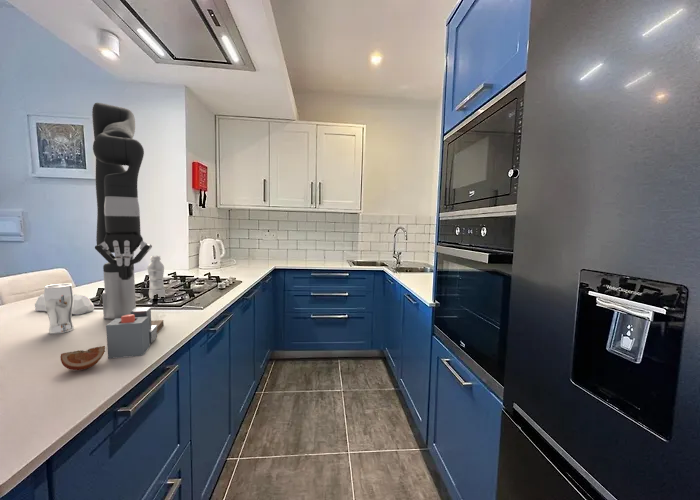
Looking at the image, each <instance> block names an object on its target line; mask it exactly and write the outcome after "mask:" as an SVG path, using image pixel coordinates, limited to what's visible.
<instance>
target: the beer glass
mask: <svg viewBox="0 0 700 500" xmlns="http://www.w3.org/2000/svg"><path fill="white" fill-rule="evenodd" d="M43 293H44V302H45V307H46V310H47V311H46V313H47V316H48V320H49V326H48V327H49V328H48V334H51V335H59V334H60V335H61V334H65V333H68V332H71V331H74V330H75V327H74V324H73V319H72V317H73V314H72V310H73V303H74V295H75V294H74V289H73V284H72V283H57V284H54V283H53V284H50V285H46V286H44V291H43ZM73 294H74V295H73Z"/></svg>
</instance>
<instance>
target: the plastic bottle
mask: <svg viewBox="0 0 700 500" xmlns="http://www.w3.org/2000/svg"><path fill="white" fill-rule="evenodd" d="M164 272H165V266H164V264H163V263H162V262H161V255H151V256H150V263H149V264H148V265H147V273H148V277H149V278H148V279H149V288H148V289H149V290H148V297H149V299H150V300H152V298H153V295H155V294H158V296H159V297H160V298H161V297H164V296H165V297H166V290H165V285H164V274H165V273H164ZM165 297H164V298H165Z"/></svg>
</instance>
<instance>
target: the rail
mask: <svg viewBox="0 0 700 500" xmlns="http://www.w3.org/2000/svg"><path fill="white" fill-rule="evenodd" d="M164 322H165V321H164V319H158V320H157V319H156V320H151V326H152V325H157V334H158V333H159V332H160V331H161V329H162V328H163V327H164V324H165V323H164Z"/></svg>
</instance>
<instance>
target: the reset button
mask: <svg viewBox="0 0 700 500" xmlns="http://www.w3.org/2000/svg"><path fill="white" fill-rule="evenodd" d="M134 321H135V315H134V314H129V315H123V316H121V323H130V322H134Z"/></svg>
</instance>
